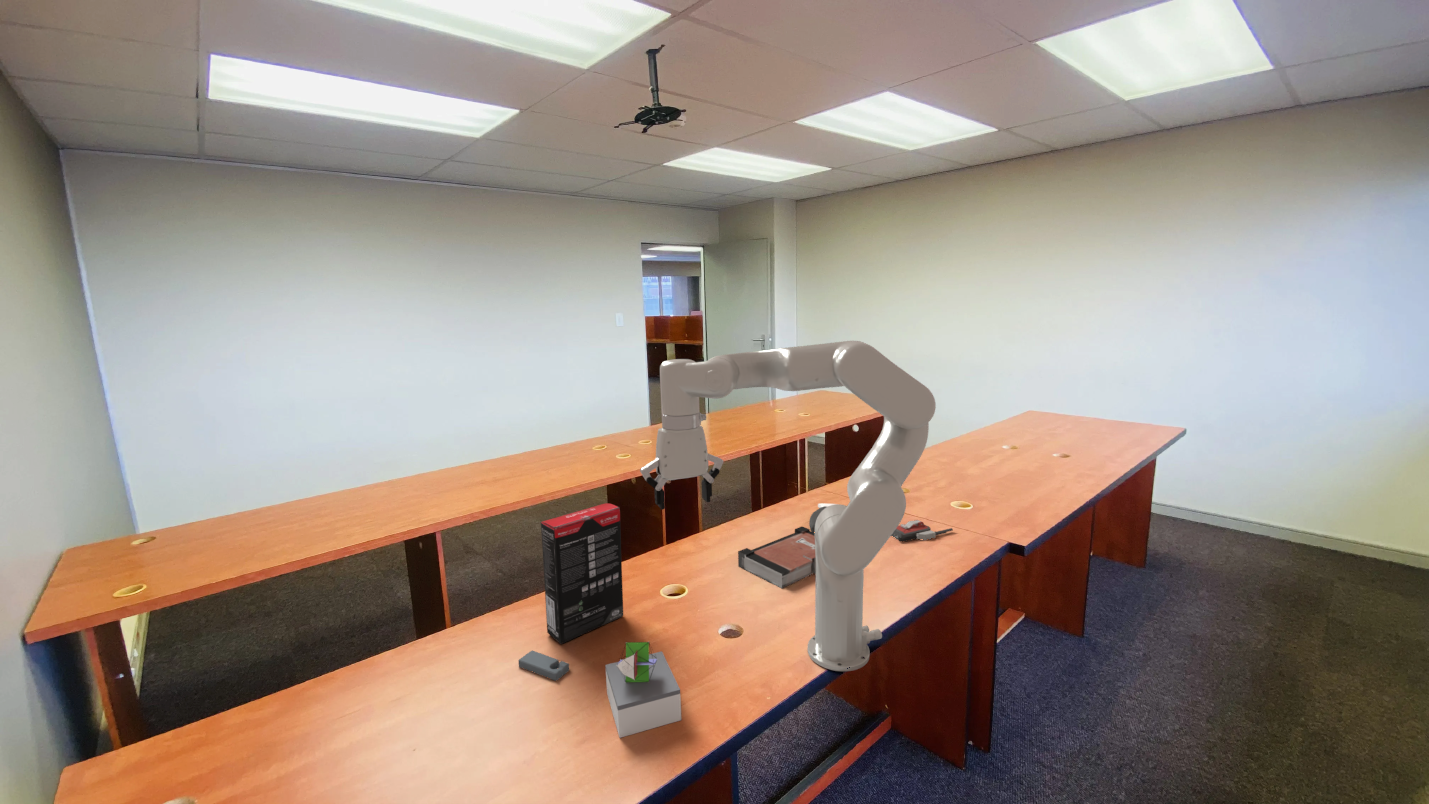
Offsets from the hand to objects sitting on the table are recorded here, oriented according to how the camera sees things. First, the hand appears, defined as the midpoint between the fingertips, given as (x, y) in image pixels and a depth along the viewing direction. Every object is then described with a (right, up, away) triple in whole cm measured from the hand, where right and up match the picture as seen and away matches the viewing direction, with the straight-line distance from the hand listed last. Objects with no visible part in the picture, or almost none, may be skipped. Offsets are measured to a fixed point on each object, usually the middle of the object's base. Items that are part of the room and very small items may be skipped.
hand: (684, 503), depth 116 cm
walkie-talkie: (+70, -21, +61) cm, 95 cm away
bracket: (-29, -34, 0) cm, 44 cm away
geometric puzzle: (-8, -29, -13) cm, 33 cm away
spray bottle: (+44, -19, +75) cm, 89 cm away
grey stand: (-7, -35, -12) cm, 38 cm away
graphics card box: (-23, -31, +15) cm, 41 cm away
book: (+29, -25, +44) cm, 58 cm away
